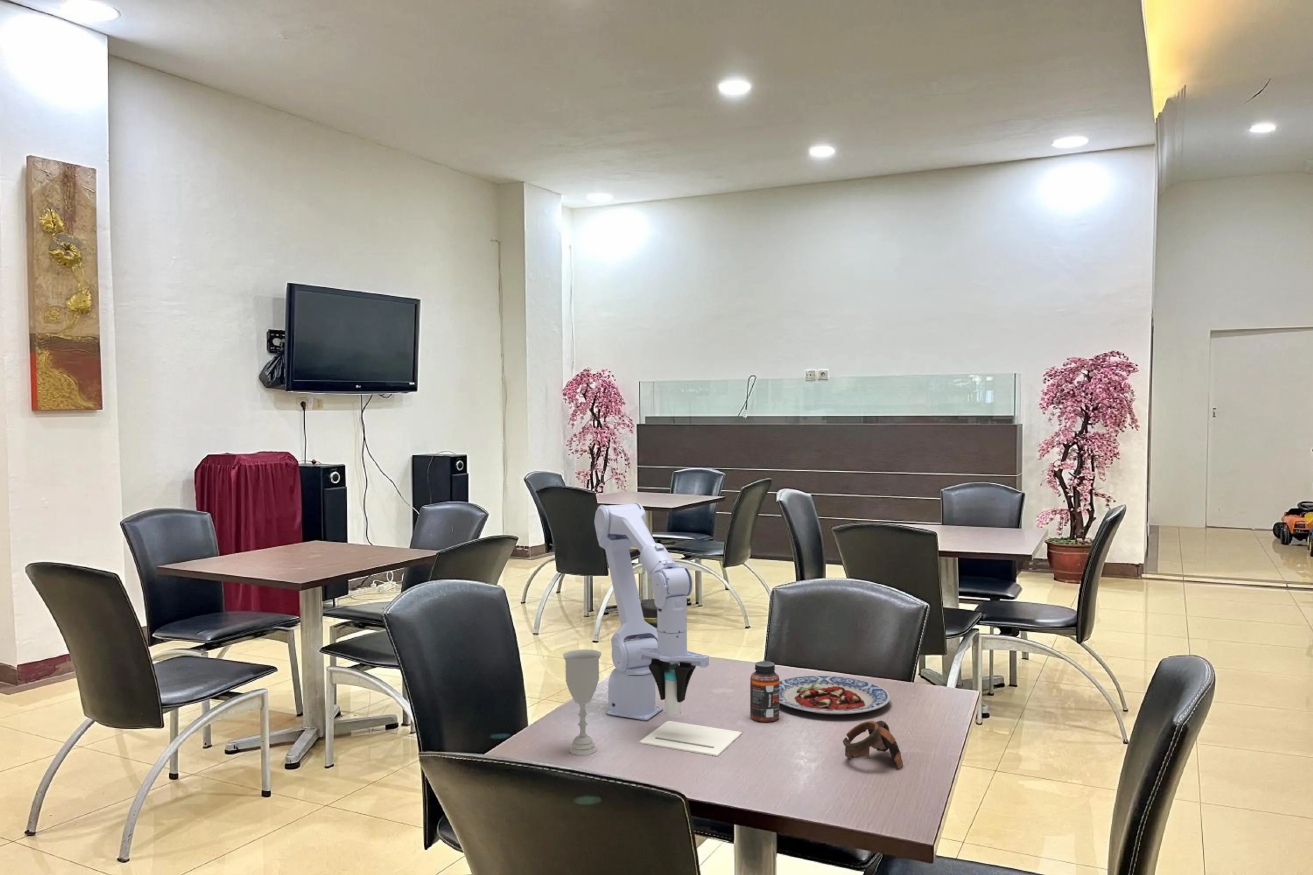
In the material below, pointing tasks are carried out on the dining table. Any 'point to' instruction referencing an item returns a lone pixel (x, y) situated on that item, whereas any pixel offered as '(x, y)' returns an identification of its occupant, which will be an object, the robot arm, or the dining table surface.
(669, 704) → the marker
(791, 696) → the ceramic plate
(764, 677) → the supplement bottle
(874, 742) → the brown curved ring piece
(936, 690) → the dining table surface
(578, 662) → the chalice
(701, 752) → the paper
